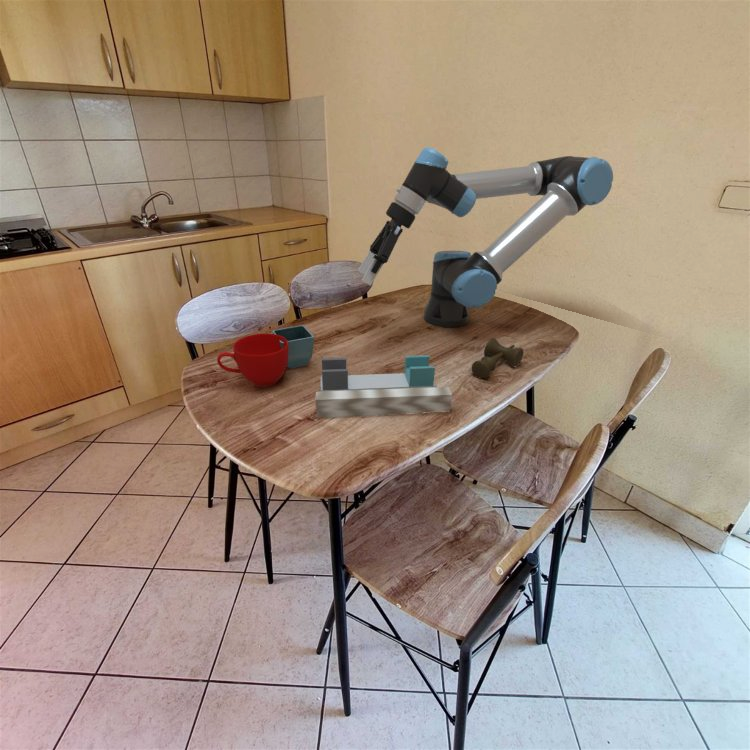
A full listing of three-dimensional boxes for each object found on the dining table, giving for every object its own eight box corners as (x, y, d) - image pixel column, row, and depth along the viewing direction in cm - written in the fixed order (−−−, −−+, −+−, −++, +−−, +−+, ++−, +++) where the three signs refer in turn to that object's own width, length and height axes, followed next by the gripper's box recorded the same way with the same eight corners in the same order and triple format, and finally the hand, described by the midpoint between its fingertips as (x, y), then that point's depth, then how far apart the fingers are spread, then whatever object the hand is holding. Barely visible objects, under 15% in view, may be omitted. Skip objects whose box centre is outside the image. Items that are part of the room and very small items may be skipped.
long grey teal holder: (428, 375, 113) (430, 355, 111) (434, 389, 107) (437, 367, 104) (320, 379, 110) (319, 358, 107) (320, 393, 104) (319, 371, 101)
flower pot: (284, 374, 112) (281, 342, 108) (274, 360, 119) (271, 330, 115) (316, 367, 116) (314, 336, 112) (305, 354, 123) (303, 324, 119)
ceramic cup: (219, 375, 111) (213, 339, 107) (285, 365, 117) (282, 330, 112) (223, 400, 101) (217, 361, 96) (296, 388, 106) (293, 351, 102)
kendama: (461, 374, 116) (497, 349, 129) (494, 387, 111) (527, 360, 124) (464, 354, 113) (500, 330, 126) (498, 367, 108) (532, 341, 121)
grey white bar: (445, 405, 102) (448, 386, 99) (449, 413, 99) (452, 394, 96) (316, 410, 98) (315, 391, 96) (316, 419, 95) (315, 399, 93)
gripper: (386, 198, 126) (349, 263, 132) (400, 202, 103) (355, 280, 109) (408, 213, 128) (370, 275, 134) (426, 219, 105) (380, 294, 111)
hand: (363, 277), depth 122 cm, fingers open, 13 cm apart
